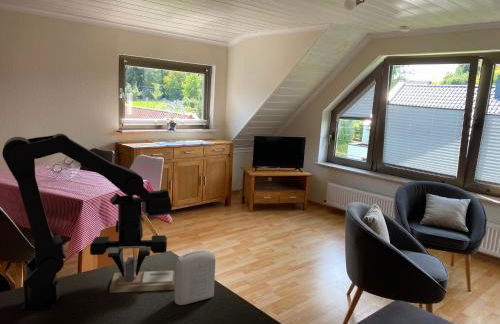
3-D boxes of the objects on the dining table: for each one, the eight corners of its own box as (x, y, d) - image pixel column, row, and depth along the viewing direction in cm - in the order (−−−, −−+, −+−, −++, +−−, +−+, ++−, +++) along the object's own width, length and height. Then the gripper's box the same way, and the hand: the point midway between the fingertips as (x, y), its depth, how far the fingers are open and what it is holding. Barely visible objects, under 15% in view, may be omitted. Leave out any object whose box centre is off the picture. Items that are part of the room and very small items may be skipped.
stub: (118, 284, 97) (118, 266, 96) (121, 273, 103) (121, 256, 102) (139, 283, 98) (139, 265, 97) (141, 273, 104) (141, 256, 103)
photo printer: (208, 289, 100) (210, 245, 98) (216, 297, 96) (218, 251, 94) (171, 299, 94) (172, 252, 92) (178, 308, 91) (179, 259, 88)
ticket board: (109, 292, 96) (109, 285, 96) (114, 277, 104) (114, 271, 103) (174, 289, 99) (174, 282, 99) (174, 275, 107) (174, 268, 106)
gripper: (167, 209, 107) (166, 261, 110) (97, 209, 104) (98, 263, 106) (166, 222, 96) (165, 279, 99) (88, 223, 93) (90, 282, 95)
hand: (130, 275), depth 100 cm, fingers open, 3 cm apart
